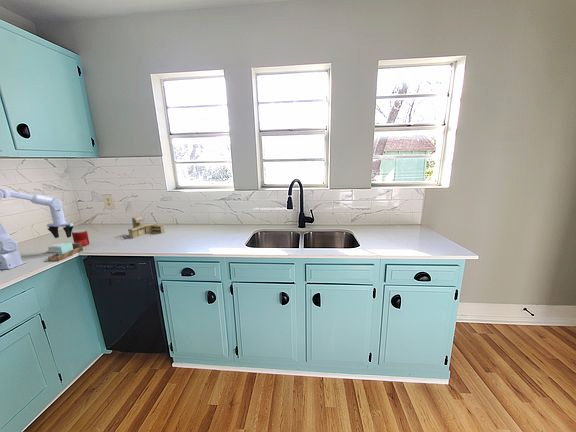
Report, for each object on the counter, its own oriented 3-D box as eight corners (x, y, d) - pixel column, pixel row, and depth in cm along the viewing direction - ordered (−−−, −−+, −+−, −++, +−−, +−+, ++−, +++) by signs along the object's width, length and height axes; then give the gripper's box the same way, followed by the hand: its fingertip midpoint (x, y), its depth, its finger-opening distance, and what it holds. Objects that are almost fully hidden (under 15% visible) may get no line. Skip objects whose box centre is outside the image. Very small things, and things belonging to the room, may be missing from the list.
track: (59, 261, 143) (57, 253, 142) (48, 261, 143) (46, 253, 142) (83, 250, 161) (81, 243, 159) (73, 250, 160) (72, 243, 159)
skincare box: (49, 253, 157) (69, 252, 158) (47, 246, 156) (68, 245, 157) (56, 249, 163) (76, 249, 164) (55, 243, 162) (75, 242, 163)
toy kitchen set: (146, 239, 180) (143, 220, 177) (128, 238, 185) (125, 219, 181) (165, 232, 198) (162, 214, 194) (148, 231, 202) (145, 214, 199)
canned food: (91, 244, 171) (88, 229, 169) (77, 248, 165) (74, 232, 162) (86, 243, 175) (83, 228, 173) (73, 246, 169) (69, 231, 166)
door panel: (63, 256, 148) (60, 247, 146) (59, 256, 147) (56, 247, 146) (73, 251, 155) (71, 242, 154) (69, 251, 155) (67, 242, 154)
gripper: (75, 215, 157) (79, 235, 160) (52, 215, 157) (56, 235, 160) (65, 217, 150) (70, 238, 153) (41, 218, 150) (47, 239, 153)
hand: (63, 237), depth 156 cm, fingers open, 7 cm apart
